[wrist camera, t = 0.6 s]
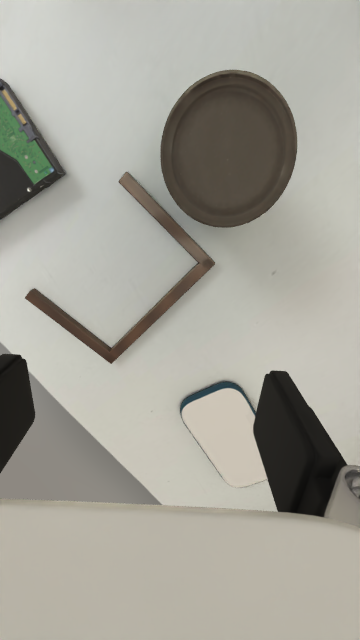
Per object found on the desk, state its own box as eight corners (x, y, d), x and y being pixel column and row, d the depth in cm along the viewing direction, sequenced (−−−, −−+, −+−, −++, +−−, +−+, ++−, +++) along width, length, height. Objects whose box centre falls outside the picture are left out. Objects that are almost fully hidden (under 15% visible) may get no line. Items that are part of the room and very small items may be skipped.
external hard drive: (173, 400, 48) (172, 408, 46) (234, 373, 46) (237, 381, 44) (230, 482, 56) (231, 492, 54) (284, 463, 54) (288, 472, 52)
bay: (128, 172, 34) (126, 171, 33) (214, 261, 38) (215, 263, 37) (28, 295, 40) (24, 297, 39) (112, 359, 45) (111, 364, 43)
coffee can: (264, 190, 35) (315, 186, 22) (191, 231, 37) (198, 250, 24) (231, 101, 31) (268, 32, 18) (151, 151, 33) (134, 122, 20)
